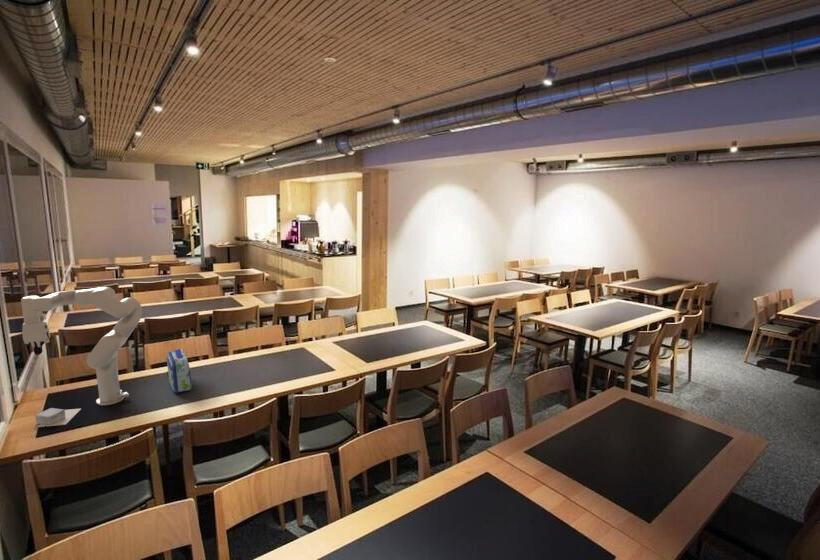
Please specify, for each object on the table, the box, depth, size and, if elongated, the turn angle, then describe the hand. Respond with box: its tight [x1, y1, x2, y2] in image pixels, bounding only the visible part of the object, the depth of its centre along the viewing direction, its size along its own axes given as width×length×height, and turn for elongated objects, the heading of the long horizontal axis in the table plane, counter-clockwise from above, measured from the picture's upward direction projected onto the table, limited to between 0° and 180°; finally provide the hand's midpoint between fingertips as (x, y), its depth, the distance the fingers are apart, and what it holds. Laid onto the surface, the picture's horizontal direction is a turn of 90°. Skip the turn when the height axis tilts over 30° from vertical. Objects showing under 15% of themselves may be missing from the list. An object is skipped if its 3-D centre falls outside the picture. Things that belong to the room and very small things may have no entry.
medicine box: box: [34, 407, 66, 425], centre depth 213 cm, size 8×4×9 cm
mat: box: [36, 408, 82, 428], centre depth 217 cm, size 12×16×1 cm
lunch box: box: [166, 348, 193, 394], centre depth 253 cm, size 26×11×21 cm, turn 35°
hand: (38, 353), depth 223 cm, fingers closed
